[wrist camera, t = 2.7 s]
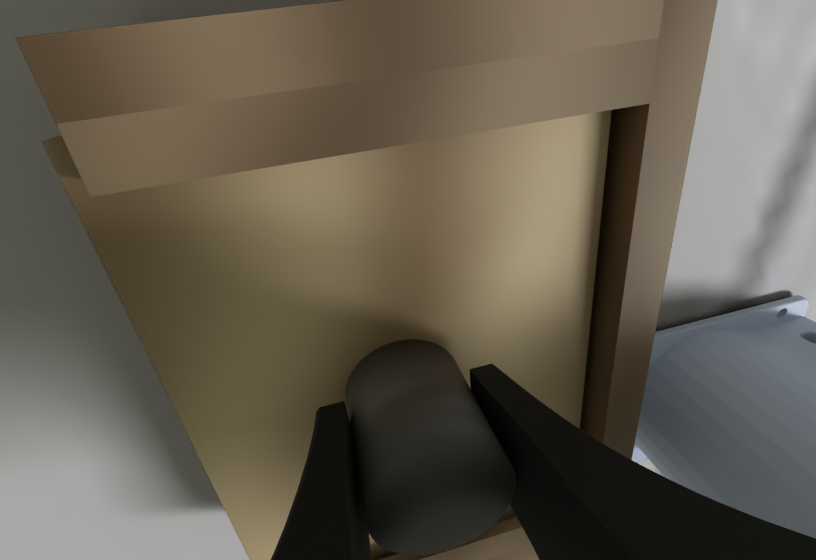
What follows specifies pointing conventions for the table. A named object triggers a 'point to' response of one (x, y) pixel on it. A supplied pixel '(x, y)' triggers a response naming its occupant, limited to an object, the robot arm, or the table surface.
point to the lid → (364, 314)
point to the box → (411, 127)
